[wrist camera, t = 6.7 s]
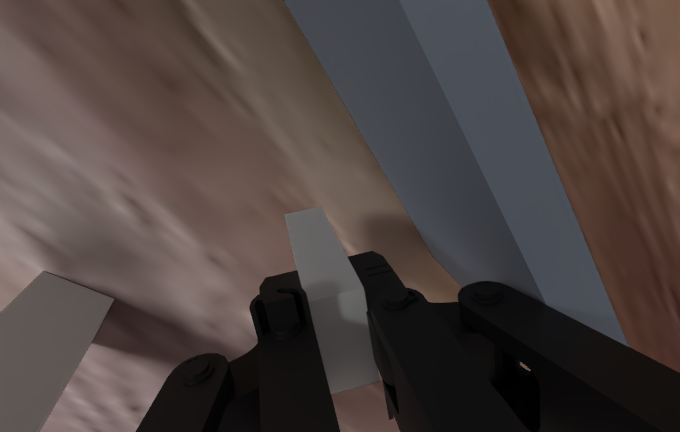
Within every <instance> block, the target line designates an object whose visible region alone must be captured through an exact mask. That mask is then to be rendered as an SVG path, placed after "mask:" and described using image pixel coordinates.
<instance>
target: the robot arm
mask: <svg viewBox="0 0 680 432" xmlns="http://www.w3.org/2000/svg"><path fill="white" fill-rule="evenodd" d="M284 216H285V220H286V225H287V229H288V234H289V238H290V242H291V247H292V251H293V256H294V260H295V265H296V269H297V270H296V271H292V272H288V273H284V274H280V275H275V276H271V277H267V278H265V280H264V281H263V283H262V284H261V286H260V287H259V289H260V294H259V295H257V296H256V297H255V298H254V299H253V300H252V301H251V304H250V307H249V308H250V312H251V316H252V319H253V323H254V327H255V330H256V334H257V337H258V343H257V345H256V346H255V347H254V348H253V349H252V350H250V351H249V352H248V353H246V354H245V355H243V356H241V357H239V358H237V359H235V360H233V361H231V362H229V363H228V361H227V359H226V358H225V356H222V355H220V354H217V353H207V354H202V355H197V356H195V357H192V358H190V359H188V360H186V361H184V362H183V363H182V364H180V365H179V366H177V367H176V368H175V369H174V370H173V371H172V373H171V374H170V375H169V376H168V378H167V379H166V381H165V383H164V384H163V386H162V388H161V390H160V391H159V393H158V395H157V396H156V398H155V400H154V401H153V403H152V405H151V407H150V408H149V410H148V412H147V413H146V415H145V417H144V418H143V420H142V422H141V424H140V425H139V427H138V429H137V430H136V432H340V429H339V425H338V421H337V417H336V413H335V409H334V405H333V401H332V397H331V395H332V394H336V393H339V392H343V391H347V390H350V389H354V388H358V387H361V386H365V385H368V384H372V383H375V382H379V375H378V370H379V372H380V374H381V377H382V379H383V385H384V391H385V397H386V403H387V409H388V415H389V420H390V419H393V415H394V417H395V420H396V422H397V424H398V427H399V429H400V431H401V432H680V373H679V372H677V371H675V370H673V369H671V368H669V367H667V366H665V365H663V364H661V363H659V362H657V361H655V360H653V359H651V358H649V357H647V356H645V355H643V354H641V353H639V352H637V351H636V350H634V349H632V348H630V347H628V346H626V345H624V344H622V343H620V342H618V341H616V340H614V339H612V338H610V337H608V336H606V335H604V334H602V333H600V332H598V331H596V330H594V329H592V328H591V327H589V326H587V325H585V324H583V323H581V322H579V321H577V320H575V319H573V318H571V317H569V316H567V315H565V314H563V313H561V312H559V311H557V310H555V309H553V308H551V307H549V306H547V305H546V304H544V303H542V302H540V301H538V300H536V299H534V298H532V297H530V296H528V295H526V294H524V293H522V292H520V291H518V290H516V289H514V288H512V287H510V286H508V285H505V284H503V283H500V282H492V281H479V282H475V283H471V284H468V285H466V286H465V287H463V288H462V289H461V290H460V291H459V293H458V302H450V303H431V302H428V301H427V300H426V299H425V297H424V296H423V295H422V294H421V293H420V292H418V291H417V290H413V289H410V288H406V287H405V286H404V284H403V283H402V282H401V280H400V279H399V277H398V276H397V275H396V273H395V272H394V271H393V269H392V268H391V266H390V265H389V264H388V262H387V261H386V259H385V258H384V257H383V256H382V255H380V254H378V253H375V252H373V251H370V252H366V253H362V254H358V255H353V256H349V257H347V255H346V253H345V251H344V250H343V248H342V246H341V244H340V242H339V240H338V238H337V236H336V234H335V233H334V231H333V229H332V227H331V225H330V223H329V221H328V219H327V217H326V216H325V214H324V212H323V210H322V208H321V206H320V207H316V208H311V209H307V210H302V211H298V212H293V213H289V214H284ZM520 362H522V363H523V364H525V365H526V366H527V367H528V368H529V369H530V370H531V371H528V370H526V369H525V368H523V367H522V366H520ZM377 368H378V369H377Z"/></svg>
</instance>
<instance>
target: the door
mask: <svg viewBox="0 0 680 432" xmlns="http://www.w3.org/2000/svg"><path fill="white" fill-rule="evenodd" d="M284 2H285V4H286V5H287V7H288V9H289V11H290V12H291V14H292V16H293V17H294V19H295V21H296V23H297V24H298V26H299V28H300V29H301V31H302V33H303V35H304V36H305V38H306V40H307V41H308V43H309V45H310V47H311V48H312V50H313V52H314V53H315V55H316V57H317V59H318V60H319V62H320V64H321V65H322V67H323V69H324V71H325V72H326V74H327V76H328V77H329V79H330V81H331V83H332V84H333V86H334V88H335V89H336V91H337V93H338V95H339V96H340V98H341V100H342V101H343V103H344V105H345V107H346V108H347V110H348V112H349V114H350V115H351V117H352V119H353V120H354V122H355V124H356V126H357V127H358V129H359V131H360V132H361V134H362V136H363V138H364V139H365V141H366V143H367V144H368V146H369V148H370V150H371V151H372V153H373V155H374V156H375V158H376V160H377V162H378V163H379V165H380V167H381V168H382V170H383V172H384V174H385V175H386V177H387V179H388V180H389V182H390V184H391V186H392V187H393V189H394V191H395V192H396V194H397V196H398V198H399V199H400V201H401V203H402V205H403V206H404V208H405V210H406V211H407V213H408V215H409V217H410V218H411V220H412V222H413V223H414V225H415V227H416V229H417V230H418V232H419V234H420V235H421V237H422V239H423V241H424V242H425V244H426V246H427V247H428V249H429V251H430V253H431V254H432V256H433V257H434V258H435V259H436V260H437V261H438V262H439V264H440V265H441V266H442V267H443V268H444V269H445V270H446V271H447V272H448V273H449V274H450V275H451V276H452V277H453V278H454V279H455V280H456V281H457V283H458V284H459V285H460V286H461V287H462V288H463V287H465V286H466V285H468V284H471V283H475V282H479V281H492V282H500V283H503V284H505V285H508V286H510V287H512V288H514V289H516V290H518V291H520V292H522V293H524V294H526V295H528V296H530V297H532V298H534V299H536V300H538V301H540V302H542V303H544V304H546V305H547V306H549V307H551V308H553V309H555V310H557V311H559V312H561V313H563V314H565V315H567V316H569V317H571V318H573V319H575V320H577V321H579V322H581V323H583V324H585V325H587V326H589V327H591V328H592V329H594V330H596V331H598V332H600V333H602V334H604V335H606V336H608V337H610V338H612V339H614V340H616V341H618V342H620V343H622V344H624V345H626V346H628V344H627V341H626V339H625V336H624V334H623V331H622V329H621V327H620V324H619V322H618V319H617V317H616V314H615V312H614V309H613V307H612V305H611V302H610V300H609V297H608V295H607V292H606V290H605V287H604V285H603V283H602V280H601V278H600V275H599V273H598V270H597V268H596V265H595V263H594V260H593V258H592V256H591V253H590V251H589V248H588V246H587V243H586V241H585V238H584V236H583V234H582V231H581V229H580V226H579V224H578V221H577V219H576V216H575V214H574V212H573V209H572V207H571V204H570V202H569V199H568V197H567V194H566V192H565V190H564V187H563V185H562V182H561V180H560V177H559V175H558V172H557V170H556V167H555V165H554V163H553V160H552V158H551V155H550V153H549V150H548V148H547V145H546V143H545V141H544V138H543V136H542V133H541V131H540V128H539V126H538V123H537V121H536V119H535V116H534V114H533V111H532V109H531V106H530V104H529V101H528V99H527V97H526V94H525V92H524V89H523V87H522V84H521V82H520V79H519V77H518V75H517V72H516V70H515V67H514V65H513V62H512V60H511V57H510V55H509V52H508V50H507V48H506V45H505V43H504V40H503V38H502V35H501V33H500V30H499V28H498V26H497V23H496V21H495V18H494V16H493V13H492V11H491V8H490V6H489V4H488V1H487V0H284ZM628 347H629V346H628Z"/></svg>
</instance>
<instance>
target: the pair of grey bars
mask: <svg viewBox="0 0 680 432" xmlns="http://www.w3.org/2000/svg"><path fill="white" fill-rule="evenodd" d="M113 301H114V298H111V297H109V296H106V295H104V294H101V293H98V292H96V291H93V290H91V289H88V288H86V287H83V286H80V285H78V284H75V283H73V282H70V281H68V280H65V279H62V278H60V277H57V276H55V275H52V274H50V273H47V272H45V271H43V272H42V273H41V274H40V275H39V276H37V277H36V278H35V279H34V280H33V281H32V282H31V283H30V284H29V285H28V286H27V287H26V288H25V289H24V290H23V291H22V292H21V293H20V294H19V295H18V296H17V297H16V298H15V299H14V300H13V301H12V302H11V303H10V304H9V305H8V306H7V307H6V308H5V309H4V310H3V311H2V312H1V313H0V432H40V430H41V429H42V427H43V425H44V423H45V422H46V420H47V418H48V417H49V415H50V413H51V411H52V410H53V408H54V406H55V405H56V403H57V401H58V399H59V398H60V396H61V394H62V393H63V391H64V389H65V387H66V386H67V384H68V382H69V381H70V379H71V377H72V375H73V374H74V372H75V370H76V369H77V367H78V365H79V363H80V362H81V360H82V358H83V357H84V355H85V353H86V351H87V350H88V348H89V346H90V345H91V343H92V341H93V339H94V337H95V335H96V333H97V331H98V329H99V328H100V326H101V324H102V322H103V320H104V318H105V316H106V314H107V312H108V310H109V309H110V307H111V305H112V303H113Z"/></svg>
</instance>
